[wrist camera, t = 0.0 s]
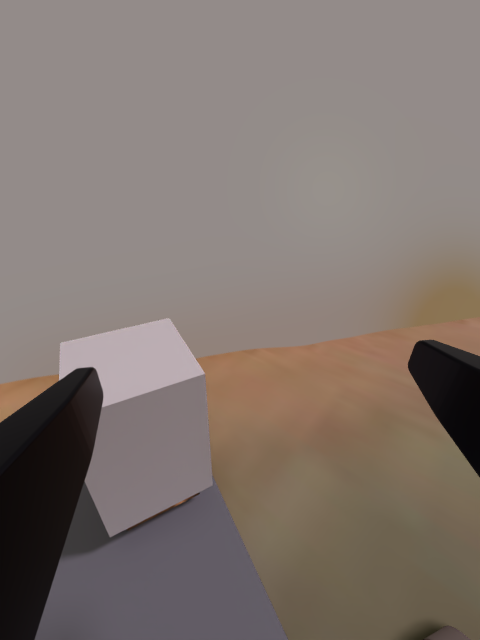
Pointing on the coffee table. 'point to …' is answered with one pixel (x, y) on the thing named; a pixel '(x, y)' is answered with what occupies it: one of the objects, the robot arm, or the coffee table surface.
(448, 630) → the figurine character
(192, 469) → the pale grey block
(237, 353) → the coffee table surface
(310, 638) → the coffee table surface
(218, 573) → the socket plate
